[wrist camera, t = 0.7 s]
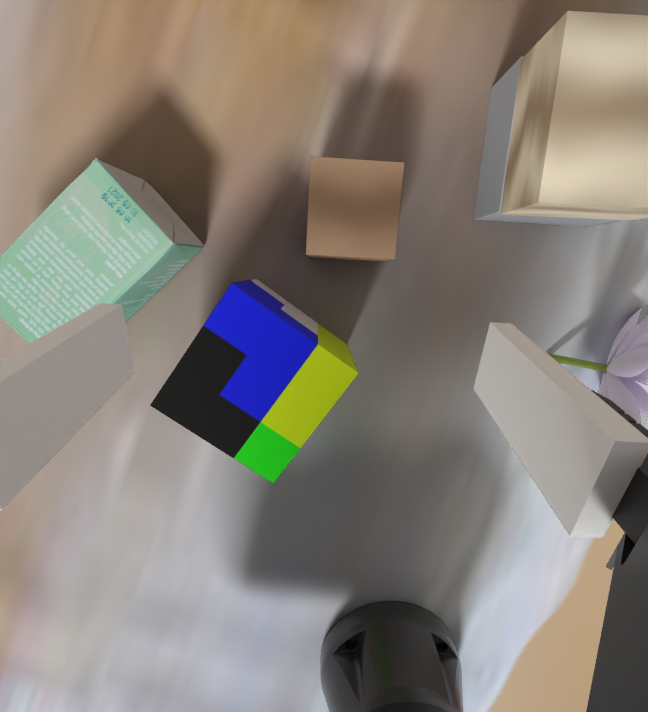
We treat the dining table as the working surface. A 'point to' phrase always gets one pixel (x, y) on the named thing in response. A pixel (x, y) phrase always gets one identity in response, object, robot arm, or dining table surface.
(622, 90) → the tower slab upper
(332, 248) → the walnut block
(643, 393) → the water lily
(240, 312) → the puzzle toy
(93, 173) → the box
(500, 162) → the tower slab lower
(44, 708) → the dining table surface
